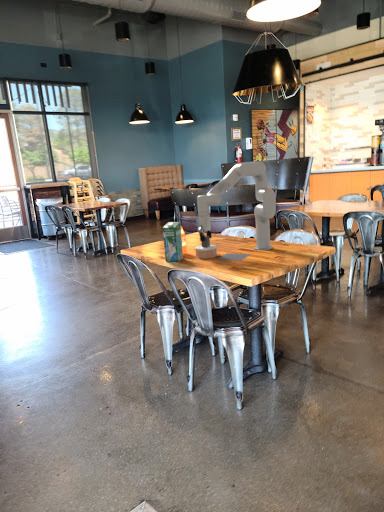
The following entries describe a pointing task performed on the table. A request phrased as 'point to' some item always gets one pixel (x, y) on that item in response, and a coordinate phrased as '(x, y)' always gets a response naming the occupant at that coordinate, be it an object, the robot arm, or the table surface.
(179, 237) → the milk carton
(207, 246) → the lid
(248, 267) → the table surface
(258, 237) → the robot arm
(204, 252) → the bowl
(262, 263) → the table surface
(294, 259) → the table surface
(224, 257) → the mat
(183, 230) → the orange juice
